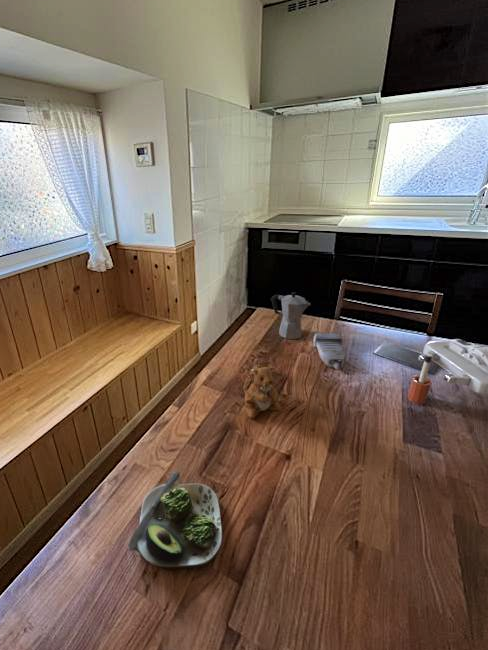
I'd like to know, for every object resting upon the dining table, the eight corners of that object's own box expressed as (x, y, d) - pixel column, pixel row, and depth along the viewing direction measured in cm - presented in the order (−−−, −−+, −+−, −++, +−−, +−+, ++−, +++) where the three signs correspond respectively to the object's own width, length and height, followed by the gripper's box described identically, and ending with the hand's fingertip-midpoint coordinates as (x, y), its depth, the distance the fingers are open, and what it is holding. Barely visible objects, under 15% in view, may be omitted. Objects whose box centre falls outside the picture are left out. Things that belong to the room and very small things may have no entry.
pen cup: (427, 399, 97) (433, 380, 94) (422, 407, 94) (428, 387, 91) (410, 392, 100) (415, 373, 97) (405, 400, 97) (410, 380, 94)
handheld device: (322, 372, 110) (324, 360, 109) (310, 341, 129) (311, 330, 127) (353, 373, 109) (356, 361, 107) (336, 342, 127) (338, 331, 125)
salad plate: (142, 477, 78) (139, 462, 76) (218, 476, 77) (218, 461, 76) (125, 571, 61) (122, 556, 59) (224, 571, 60) (224, 556, 58)
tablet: (441, 361, 113) (442, 359, 112) (432, 376, 106) (432, 373, 106) (384, 342, 125) (384, 340, 125) (372, 354, 118) (372, 352, 118)
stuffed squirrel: (250, 421, 92) (252, 382, 87) (234, 389, 105) (234, 354, 100) (284, 415, 94) (288, 376, 89) (264, 384, 107) (266, 349, 101)
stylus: (420, 398, 96) (433, 354, 90) (418, 401, 96) (431, 356, 89) (414, 396, 97) (427, 352, 91) (412, 398, 97) (425, 354, 90)
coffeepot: (310, 333, 134) (315, 291, 127) (302, 343, 127) (306, 300, 120) (274, 323, 143) (276, 284, 135) (264, 333, 136) (266, 292, 129)
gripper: (512, 397, 85) (461, 403, 84) (447, 353, 104) (405, 357, 103) (521, 376, 82) (469, 382, 81) (453, 335, 101) (409, 340, 100)
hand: (433, 368), depth 92 cm, fingers open, 8 cm apart
